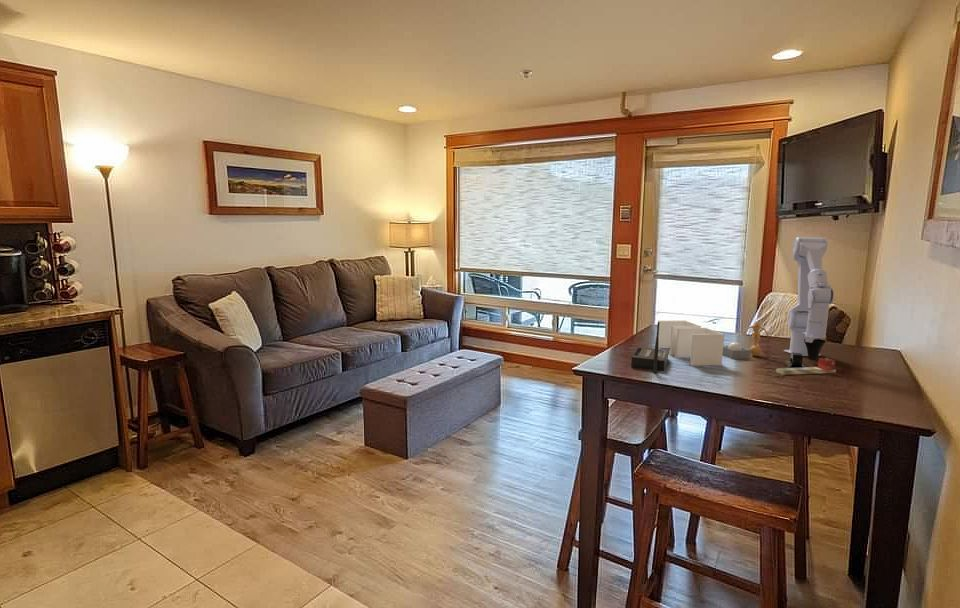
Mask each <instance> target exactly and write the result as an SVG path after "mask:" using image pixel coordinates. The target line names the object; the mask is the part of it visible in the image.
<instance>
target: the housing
mask: <svg viewBox="0 0 960 608" xmlns="http://www.w3.org/2000/svg"><path fill="white" fill-rule="evenodd" d="M728 346H729V345H723V354H722V356H725V357H727V358H730V359H734V360H735V359H750V358H751V353H750V351H751V350H750V348H746V347H743V346H742V350H732V349H730V348H728Z"/></svg>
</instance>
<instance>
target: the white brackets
mask: <svg viewBox="0 0 960 608" xmlns="http://www.w3.org/2000/svg"><path fill="white" fill-rule="evenodd" d="M658 322H659V347H658V349H669V351H668V355H670V356H674V358H676V359H678V358H690V360H689V365H690V366H692V367H693V366H721V365H722V363H723V362H722V361H723V355H722V354H723V346H724V343H725V342H724V341H725V333H722V332H719V331H717V330H713V329H711V328H708V327H702V325H699V324H697V323H693V322H691V321H687V320H658ZM658 322H657V323H658Z"/></svg>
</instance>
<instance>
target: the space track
mask: <svg viewBox="0 0 960 608" xmlns="http://www.w3.org/2000/svg"><path fill="white" fill-rule="evenodd" d="M817 361H818V362H817V366H809V367H807V366H805V367H804V368H789V367H781V368H775V373H777V374H780V375H782V376H784V375H812V374H813V375H815V374H835V373H837V369H835V365H836V360H834V359H831V358H828V357H818V360H817Z"/></svg>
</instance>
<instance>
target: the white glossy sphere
mask: <svg viewBox="0 0 960 608" xmlns="http://www.w3.org/2000/svg"><path fill="white" fill-rule="evenodd" d="M727 346H728V348H730V349H732V350H742V347H743V345H741V343H739V342H737V341H735V342H733V341H732V342H731V343H730V344H729V345H727Z"/></svg>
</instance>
